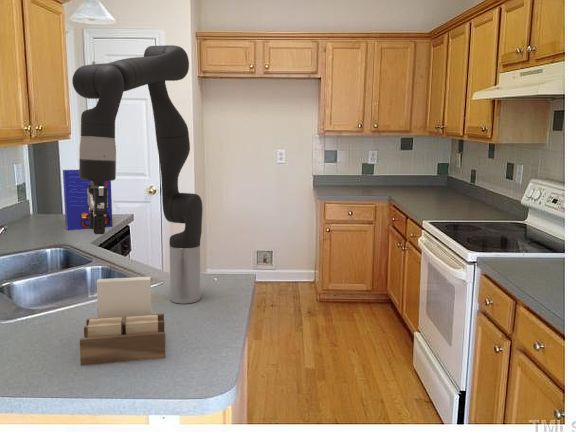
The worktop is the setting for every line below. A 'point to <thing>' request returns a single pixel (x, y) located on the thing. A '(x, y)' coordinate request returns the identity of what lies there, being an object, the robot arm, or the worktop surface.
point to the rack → (123, 346)
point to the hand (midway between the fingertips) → (97, 231)
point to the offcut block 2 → (142, 324)
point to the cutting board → (124, 297)
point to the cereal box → (80, 201)
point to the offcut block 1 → (105, 327)
